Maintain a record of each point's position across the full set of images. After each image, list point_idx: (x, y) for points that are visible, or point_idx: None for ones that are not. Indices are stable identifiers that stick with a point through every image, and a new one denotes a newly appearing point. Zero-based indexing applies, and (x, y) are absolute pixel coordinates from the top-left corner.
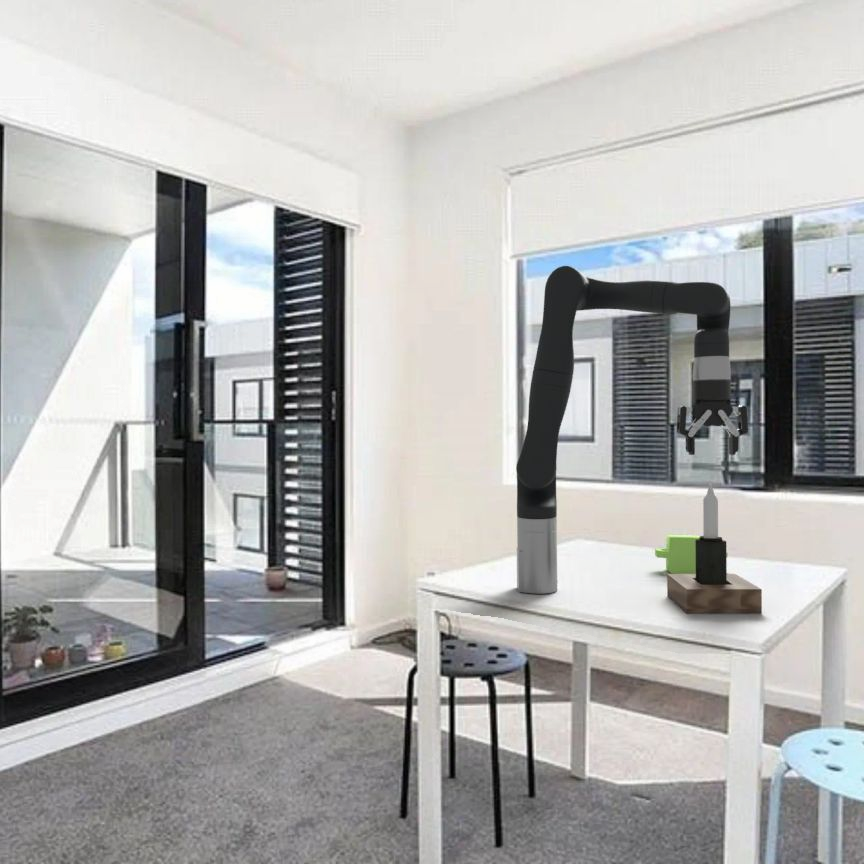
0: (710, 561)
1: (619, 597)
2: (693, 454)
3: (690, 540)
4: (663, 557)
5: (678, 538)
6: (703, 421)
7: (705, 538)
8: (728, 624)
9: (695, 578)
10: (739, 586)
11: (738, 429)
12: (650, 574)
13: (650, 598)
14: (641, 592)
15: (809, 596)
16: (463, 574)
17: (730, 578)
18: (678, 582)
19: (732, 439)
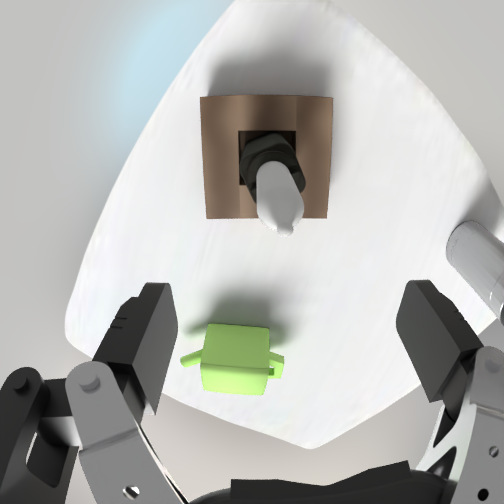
0: (281, 138)
1: (389, 200)
2: (413, 280)
3: (238, 364)
4: (276, 354)
5: (258, 367)
6: (473, 477)
7: (292, 160)
8: (279, 40)
9: None
10: (231, 116)
11: (67, 430)
12: (296, 331)
13: (348, 192)
14: (349, 229)
15: (109, 209)
16: (492, 313)
17: (226, 181)
18: (330, 149)
19: (136, 349)
